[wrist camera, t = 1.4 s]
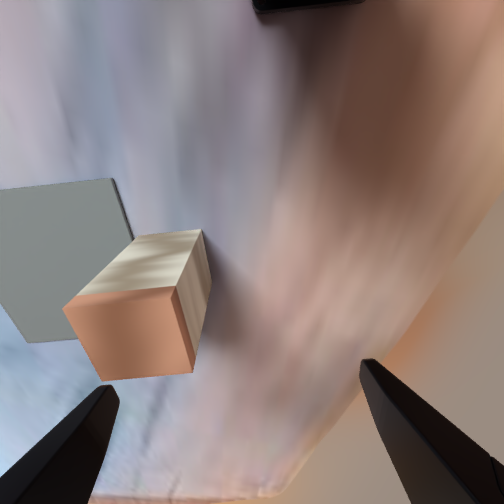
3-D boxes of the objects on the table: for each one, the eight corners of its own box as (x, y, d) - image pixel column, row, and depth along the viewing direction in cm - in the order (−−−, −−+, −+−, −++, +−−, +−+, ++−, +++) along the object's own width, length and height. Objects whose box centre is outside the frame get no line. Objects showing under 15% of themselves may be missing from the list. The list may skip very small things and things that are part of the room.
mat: (112, 177, 17) (110, 178, 17) (163, 327, 23) (162, 330, 23) (-67, 196, 17) (-72, 197, 17) (29, 340, 23) (27, 343, 23)
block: (201, 229, 19) (170, 298, 11) (211, 282, 21) (192, 372, 13) (138, 235, 19) (62, 308, 11) (155, 288, 21) (102, 381, 13)
